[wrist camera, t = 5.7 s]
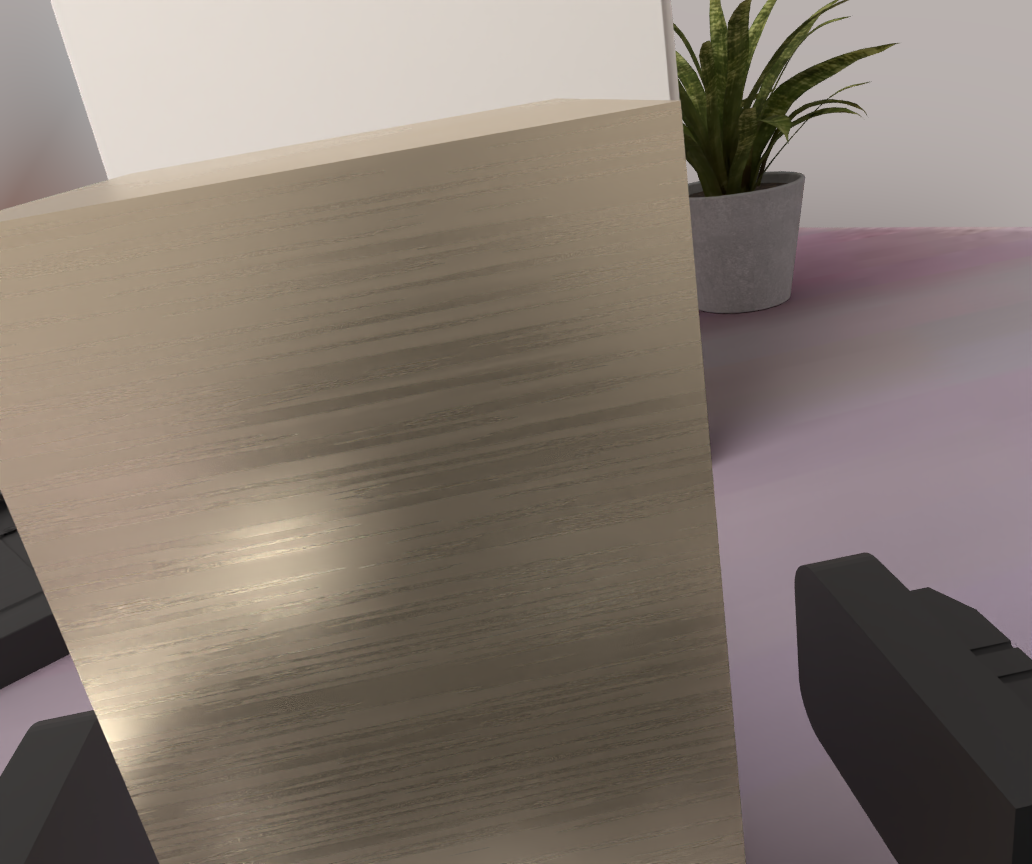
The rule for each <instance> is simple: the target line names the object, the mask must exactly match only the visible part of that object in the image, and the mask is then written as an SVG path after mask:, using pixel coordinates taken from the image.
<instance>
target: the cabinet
mask: <svg viewBox="0 0 1032 864" xmlns="http://www.w3.org/2000/svg"><path fill="white" fill-rule="evenodd" d="M50 1H51V4H52V7H53V11H54V14H55V16H56V20H57V23H58V26H59V29H60V32H61V35H62V38H63V41H64V44H65V47H66V50H67V54H68V57H69V60H70V63H71V66H72V69H73V72H74V75H75V78H76V81H77V84H78V87H79V91H80V94H81V97H82V100H83V103H84V105H85V109H86V112H87V115H88V118H89V121H90V124H91V127H92V131H93V134H94V137H95V140H96V143H97V146H98V149H99V152H100V155H101V158H102V161H103V164H104V167H105V170H106V174H107V177H108V180H110V179H113V178H117V177H120V176H124V175H127V174H131V173H137V172H142V171H148V170H154V169H159V168H165V167H171V166H176V165H182V164H188V163H193V162H199V161H205V160H210V159H216V158H222V157H227V156H233V155H239V154H244V153H250V152H256V151H261V150H267V149H273V148H278V147H284V146H290V145H295V144H301V143H307V142H312V141H318V140H324V139H329V138H335V137H341V136H346V135H352V134H358V133H363V132H369V131H375V130H380V129H386V128H392V127H397V126H403V125H409V124H414V123H420V122H426V121H431V120H437V119H443V118H448V117H454V116H460V115H465V114H471V113H477V112H482V111H488V110H494V109H499V108H505V107H511V106H516V105H522V104H528V103H533V102H539V101H545V100H550V99H556V98H563V99H620V100H678V101H680V99H679V87H678V76H677V64H676V52H675V40H674V29H673V17H672V6H671V0H50Z"/></svg>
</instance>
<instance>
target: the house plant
mask: <svg viewBox="0 0 1032 864" xmlns="http://www.w3.org/2000/svg"><path fill="white" fill-rule="evenodd" d="M776 1H777V0H768V1H767V2H766V4H765V5H764V6H763V8H762V9H761V11H760V12H759V14H758V15H757V17H756V19H755V20H754V22H753V24H752V26H751V28H750V29H749V28H748V25H749V11H750V4H751V0H745V1H743V2H742V3H740V4H739V6H738V7H737V8H736V10H735V11H734V12H733V14H732V16H731V18H730V20H729V22H728V30H727V26H726V22H725V19H724V15H723V11H722V8H721V3H720V0H710V15H709V16H710V36H711V42H710V41H706V42H705V43H703V44H702V47H701V49H700V54H699V58H700V64H701V68H700V66H699V63H698V61H697V58H696V56H695V54H694V52H693V50H692V48H691V46H690V44H689V42H688V41H687V39H686V37H685V36H684V34H683V33H682V32H681V31H680V30H679V28H678V27H677V26H676V25H675V24H674V23H673V29H674V31H675V32H676V33H677V34H678V35H679V36H680V38H681V39H682V41H683V42H684V44H685V46H686V47H687V49H688V51H689V53H690V55H691V57H692V59H693V62H694V64H695V66H696V68H697V70H698V73H699V75H700V78H701V80H702V83H703V85H704V88H705V91H704V89H703V87H702V85H701V82H700V80H699V78H698V76H697V74H696V72H695V71H694V70H693V69H692V67H691V66H690V65H689V63H687V61H686V60H685V59H684V58H683V57H682V56H681V55H680V54H679V53H678V52H677V51H675V52H676V64H677V76H678V78H679V79H680V81H681V82H682V84H683V86H684V87H685V89H686V91H685V89H684V88H683V86H682V84H681V83H680V81H679V79H678V87H679V99H680V101H681V110H682V119H683V121H684V123H685V124H686V125H685V124H683V134H684V146H685V157H686V160H687V161H688V162H689V163H690V164H691V165H692V167H693V168H694V169H695V171H696V172H697V174H698V177H699V180H700V181H698V182H693V183H689V184H688V192H689V204H690V216H691V228H692V239H693V251H694V263H695V274H696V286H697V298H698V309H699V310H702V311H706V312H713V313H741V312H749V311H756V310H761V309H766V308H770V307H773V306H776V305H779V304H781V303H783V302H785V301H787V300H788V299H789V298H790V295H791V288H792V279H793V271H794V263H795V255H796V247H797V239H798V230H799V221H800V214H801V205H802V198H803V190H804V182H805V176H804V175H803V174H801V173H797V172H784V171H781V172H780V171H779V172H765V171H766V169H767V168H768V167H769V165H770V164H771V163H772V161H773V160H774V159H775V157H776V156H777V155H778V154H779V152H780V151H781V150H782V149H783V147H784V146H785V145H786V144H787V143H788V142H789V140H790V139H791V138H792V137H793V136H792V137H791V138H790V139H789V140H788V134H789V131H790V128H792V127H794V126H795V125H797V124H799V123H801V122H803V121H805V120H806V121H807V120H808V119H810V118H812V117H815V116H819V115H822V114H827V113H837V112H839V113H841V112H846V113H852V114H857V113H855V112H853V111H851V110H849V109H846V108H836V107H833V108H824V109H820V110H817V109H818V108H819V107H818V108H817V109H816V110H817V111H816V110H815V111H814V112H811V113H809V114H807V115H805V116H803V117H801V118H799V119H797V120H795V121H793V122H791V120H792V119H793V118H794V117H795V116H796V115H797V114H799V113H800V112H802V111H804V110H805V109H807V108H809V107H812V106H816V105H819V104H821V105H822V104H825V103H843V104H847V105H850V106H854V107H856V108H859V109H861V110H863V109H862V108H861V107H860V106H858V105H857V104H855V103H852V102H849V101H843V100H834V99H826V100H820V101H815V102H812V103H808V104H805V105H803V106H802V107H800V108H799V109H797V110H795V111H794V112H792V114H791V115H789V117H788V116H786V115H785V114H786V113H787V111H788V109H789V108H790V106H791V105H792V103H793V102H794V101H795V100H797V99H798V98H799V97H800V96H801V95H802V94H803V93H804V92H806V91H807V90H809V89H810V88H812V87H813V86H815V85H817V84H818V83H820V82H822V81H824V80H825V79H827V78H829V77H831V76H832V75H834V74H836V73H838V72H839V71H841V70H842V69H844V68H846V67H847V66H849V65H851V64H852V63H854V62H855V61H857V60H859V59H862V58H865V57H867V56H870V55H873V54H876V53H879V52H882V51H884V50H886V49H887V48H889V47H891V46H893V45H895V44H896V43H893V44H887V45H882V46H877V47H871V48H865V49H860V50H857V51H853V52H850V53H846V54H843V55H840V56H837V57H834V58H832V59H829V60H827V61H824V62H822V63H819V64H817V65H814V66H812V67H810V68H808V69H806V70H804V71H802V72H800V73H798V74H797V75H795V76H794V77H792V78H790V79H789V80H787V81H786V82H784V83H783V84H781V85H780V86H779V87H778V88H777V89H776V90H775V87H776V85H777V83H778V81H779V79H780V77H781V75H782V73H783V71H784V70H785V68H786V66H787V64H788V62H789V60H790V59H789V58H791V57H792V55H793V53H794V52H795V51H796V49H797V48H798V47H799V45H800V44H801V43H802V42H803V41H804V40H805V39H806V38H807V36H808V35H810V34H811V33H813V32H814V31H815V30H816V29H818V28H820V27H822V26H823V25H826V24H828V23H831V22H834V21H837V20H841V19H844V18H848V17H843V18H838V19H833V20H830V21H827V22H825V23H823V24H821V25H819V26H818V27H816V28H815V29H813V30H812V31H811V32H810V33H809V34H808V32H809V30H810V29H811V27H812V26H813V24H814V22H815V21H816V20H817V19H818V17H819V16H820V15H821V14H822V13H824V12H825V11H827V10H829V9H831V8H833V7H835V6H837V5H839V4H841V3H843V2H846V1H848V0H844V1H841V2H839V3H837V4H834V3H836V2H837V1H838V0H835V1H833V2H831V3H829V4H827V5H826V6H824V7H822V8H821V9H820V10H818V11H817V12H816V13H815V14H814V15H812V16H811V17H810V18H809V19H808V20H806V21H805V22H804V23H803V24H802V25H801V26H799V27H798V28H797V29H796V30H795V31H794V32H793V33H792V34H791V35H790V36H789V37H787V39H786V40H785V41H784V42H783V44H782V45H781V46H780V47H779V49H778V50H777V51H776V52H775V54H774V55H773V57H772V58H771V60H770V61H769V63H768V64H767V66H766V67H765V69H764V70H763V72H762V74H761V75H760V77H759V79H758V80H757V82H756V84H755V85H754V87H753V89H752V91H751V93H750V94H749V96H748V98H746V99H744V100H742V98H743V91H744V86H745V82H746V78H747V74H748V70H749V67H750V63H751V60H752V57H753V54H754V51H755V49H756V46H757V43H758V41H759V38H760V36H761V33H762V31H763V29H764V26H765V24H766V22H767V19H768V17H769V14H770V12H771V10H772V8H773V6H774V4H775V2H776ZM833 4H834V5H833ZM807 34H808V35H807ZM787 61H788V62H787ZM786 62H787V63H786ZM785 64H786V65H785ZM784 65H785V67H784ZM783 67H784V69H783ZM782 69H783V71H782V73H781V75H780V77H779V79H778V81H777V82H776V84H775V87H774V88H773V89H772V87H773V85H774V83H775V81H776V79H777V78H778V76H779V74H780V72H781V70H782ZM701 70H702V71H701ZM866 83H868V82H866ZM862 84H865V83H861V84H855V85H851V86H848V87H846V88H843V89H841V90H839V91H838V92H840V91H842V90H844V89H847V88H850V87H853V86H858V85H862ZM760 86H761V88H760ZM759 88H760V91H759V93H758V94H757V92H758V90H759ZM771 89H772V90H771ZM774 90H775V91H774ZM773 91H774V92H773ZM770 92H771V95H770V97H769V98H768V99H767V97H768V95H769V93H770ZM838 92H836V93H838ZM836 93H835V94H836ZM835 94H833V95H835ZM833 95H832V96H833ZM832 96H830V97H832ZM830 97H829V98H830ZM755 99H756V101H755V103H754V105H753V107H752V108H750V107H751V104H752V102H753V100H755ZM766 99H767V100H766ZM821 105H820V106H821ZM863 111H864V110H863ZM864 112H865V111H864ZM806 121H805V122H806ZM805 122H804V123H803V124H805ZM802 126H803V125H802ZM802 126H801V127H802ZM801 127H800V128H801ZM776 128H777V129H776ZM800 128H799V129H800ZM799 129H798V130H799ZM798 130H797V131H798ZM780 131H781V132H780ZM797 131H796V132H795V133H797ZM779 132H780V133H779ZM773 133H774V134H773ZM783 134H784V135H785V137H786V139H787V143H786V144H785V145H784V146H783V147H782V148H781V150H780V151H779V152H778V153H777V155H776V156H775V157H774V158H773V159H772V161H771V162H770V163H769V165H768V166H767V167H766V169H765V165H766V161H767V158H768V156H769V154H770V151H771V149H772V147H773V145H774V144H775V142H776V141H777V140H778V139H779V138H780V137H781V136H782V135H783ZM772 135H773V136H772ZM794 135H795V134H794ZM771 136H772V139H771V141H770V143H769V146H768V148H767V150H766V151H765V153H764V154H763V156H762V157H761V154H762V152H763V150H764V148H765V146H766V145H767V143H768V141H769V140H770V138H771ZM760 158H761V159H760ZM760 166H761V167H760ZM764 169H765V170H764ZM759 170H760V171H759Z"/></svg>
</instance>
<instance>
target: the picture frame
mask: <svg viewBox="0 0 1032 864" xmlns="http://www.w3.org/2000/svg"><path fill="white" fill-rule="evenodd" d="M68 654H70V652H69V650H68V648H67V645H66V643H65V641H64V638H63V636H62V634H61V631H60V629H59V627H58V624H57V622H56V620H55V617H54V615H53V612H52V610H51V608H50V605H49V603H48V601H47V598H46V596H45V594H44V591H43V589H42V587H41V584H40V582H39V580H38V577H37V575H36V573H35V570H34V568H33V565H32V563H31V561H30V558H29V556H28V554H27V551H26V549H25V547H24V544H23V542H22V540H21V537H20V535H19V533H18V530H17V528H16V525H15V523H14V521H13V518H12V516H11V514H10V511H9V509H8V507H7V504H6V502H5V500H4V497H3V495H2V493H1V490H0V689H2V688H4V687H6V686H8V685H10V684H11V683H13V682H15V681H17V680H19V679H21V678H23V677H25V676H27V675H29V674H31V673H33V672H35V671H37V670H39V669H41V668H43V667H45V666H47V665H49V664H51V663H53V662H55V661H57V660H58V659H60V658H62V657H64V656H66V655H68Z"/></svg>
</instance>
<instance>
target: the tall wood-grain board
mask: <svg viewBox="0 0 1032 864" xmlns="http://www.w3.org/2000/svg"><path fill="white" fill-rule="evenodd" d="M0 490H1V493H2V495H3V497H4V500H5V502H6V504H7V507H8V509H9V511H10V514H11V516H12V518H13V521H14V523H15V525H16V528H17V530H18V533H19V535H20V537H21V540H22V542H23V544H24V547H25V549H26V551H27V554H28V556H29V558H30V561H31V563H32V565H33V568H34V570H35V573H36V575H37V577H38V580H39V582H40V584H41V587H42V589H43V591H44V594H45V596H46V598H47V601H48V603H49V605H50V608H51V610H52V612H53V615H54V617H55V620H56V622H57V624H58V627H59V629H60V631H61V634H62V636H63V638H64V641H65V643H66V645H67V648H68V650H69V652H70V655H71V657H72V660H73V662H74V664H75V667H76V669H77V671H78V674H79V676H80V678H81V681H82V683H83V685H84V688H85V690H86V692H87V695H88V697H89V699H90V702H91V704H92V707H93V709H94V711H95V714H96V716H97V718H98V721H99V723H100V725H101V728H102V730H103V732H104V735H105V737H106V739H107V742H108V744H109V747H110V749H111V751H112V754H113V756H114V758H115V761H116V763H117V765H118V768H119V770H120V772H121V775H122V777H123V779H124V782H125V784H126V787H127V789H128V791H129V794H130V796H131V798H132V801H133V803H134V805H135V808H136V810H137V812H138V815H139V817H140V819H141V822H142V824H143V826H144V829H145V831H146V834H147V836H148V838H149V841H150V843H151V845H152V848H153V850H154V852H155V855H156V857H157V859H158V862H159V864H746V860H745V848H744V837H743V825H742V813H741V802H740V790H739V778H738V766H737V755H736V743H735V731H734V720H733V708H732V696H731V684H730V673H729V661H728V649H727V638H726V626H725V614H724V602H723V591H722V579H721V567H720V556H719V544H718V532H717V520H716V509H715V497H714V485H713V474H712V462H711V450H710V438H709V427H708V415H707V403H706V392H705V380H704V368H703V356H702V345H701V333H700V321H699V310H698V298H697V286H696V274H695V263H694V251H693V239H692V228H691V216H690V204H689V192H688V181H687V169H686V157H685V146H684V134H683V122H682V110H681V101H678V100H620V99H563V98H556V99H550V100H545V101H539V102H533V103H528V104H522V105H516V106H511V107H505V108H499V109H494V110H488V111H482V112H477V113H471V114H465V115H460V116H454V117H448V118H443V119H437V120H431V121H426V122H420V123H414V124H409V125H403V126H397V127H392V128H386V129H380V130H375V131H369V132H363V133H358V134H352V135H346V136H341V137H335V138H329V139H324V140H318V141H312V142H307V143H301V144H295V145H290V146H284V147H278V148H273V149H267V150H261V151H256V152H250V153H244V154H239V155H233V156H227V157H222V158H216V159H210V160H205V161H199V162H193V163H188V164H182V165H176V166H171V167H165V168H159V169H154V170H148V171H142V172H137V173H131V174H127V175H124V176H120V177H117V178H113V179H110V180H106V181H103V182H99V183H95V184H92V185H88V186H85V187H82V188H78V189H75V190H71V191H68V192H64V193H60V194H57V195H53V196H50V197H46V198H43V199H39V200H36V201H32V202H29V203H25V204H21V205H18V206H14V207H11V208H7V209H4V210H0Z"/></svg>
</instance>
